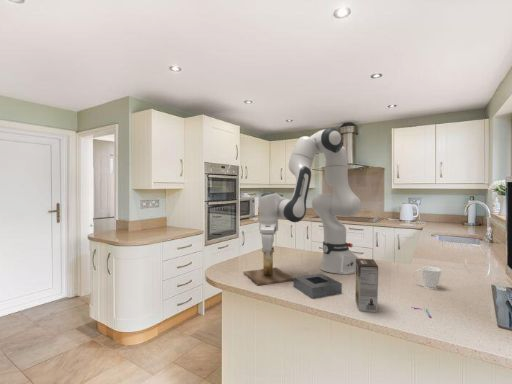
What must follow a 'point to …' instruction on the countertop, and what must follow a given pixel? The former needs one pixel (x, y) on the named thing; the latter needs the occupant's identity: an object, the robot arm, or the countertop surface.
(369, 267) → the coffee box
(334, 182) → the robot arm
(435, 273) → the cup
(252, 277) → the walnut board
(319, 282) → the metal socket
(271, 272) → the brass peg
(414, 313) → the countertop surface
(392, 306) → the countertop surface
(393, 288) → the countertop surface
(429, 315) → the squeegee
